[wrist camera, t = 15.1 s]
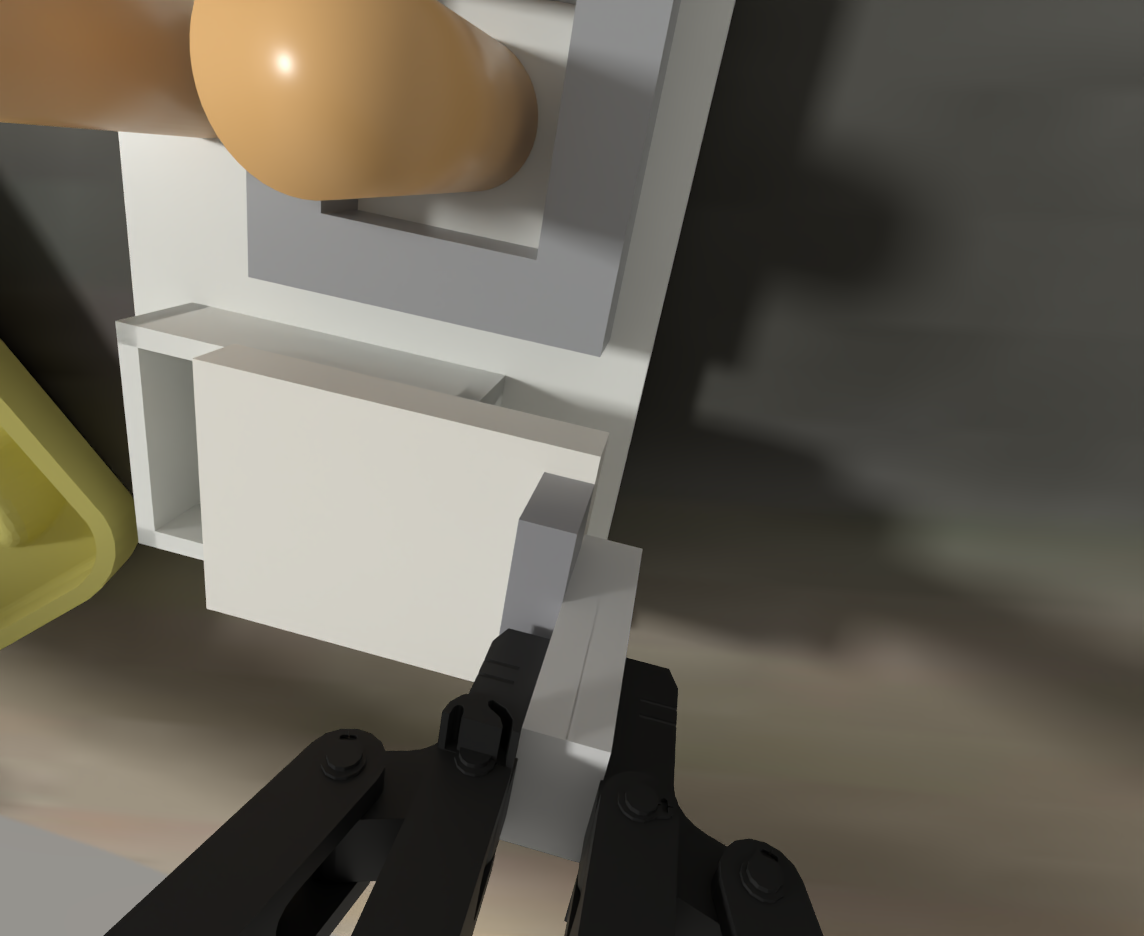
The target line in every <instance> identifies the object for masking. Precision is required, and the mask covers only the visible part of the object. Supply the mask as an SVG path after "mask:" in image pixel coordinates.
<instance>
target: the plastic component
mask: <svg viewBox="0 0 1144 936" xmlns="http://www.w3.org/2000/svg"><path fill="white" fill-rule="evenodd" d="M137 543H138V533H137V523H136V514H135V504H134V499H133V497H132V496H131V494H130V493H129V492H128V490H127V489H126V488H125V487H124V486H123V484H122V483H121V482H120V481H119V480H118V478H117V477H116V476H115V475H114V474H113V472H112V471H111V470H110V469H109V468H108V466H107V465H106V464H105V463H104V462H103V460H102V459H101V458H100V457H99V456H98V454H97V453H96V452H95V451H94V450H93V448H92V447H91V446H90V445H89V444H88V443H87V441H86V440H85V439H84V438H83V437H82V435H81V434H80V433H79V432H78V431H77V429H76V428H75V427H74V426H73V425H72V423H71V422H70V421H69V420H68V419H67V417H66V416H65V415H64V414H63V413H62V411H61V410H60V409H59V408H58V407H57V406H56V404H55V403H54V402H53V401H52V400H51V398H50V397H49V396H48V395H47V394H46V392H45V391H44V390H43V389H42V388H41V386H40V385H39V384H38V383H37V382H36V380H35V379H34V378H33V377H32V376H31V374H30V373H29V372H28V371H27V370H26V368H25V367H24V366H23V365H22V364H21V363H20V361H19V360H18V359H17V358H16V357H15V355H14V354H13V353H12V352H11V351H10V349H9V348H8V347H7V346H6V345H5V343H4V342H3V341H2V340H1V339H0V650H1V649H3V648H5V647H6V646H8V645H10V644H12V643H13V642H15V641H17V640H19V639H20V638H22V637H24V636H26V635H27V634H29V633H31V632H33V631H34V630H36V629H38V628H40V627H41V626H43V625H45V624H47V623H48V622H50V621H52V620H54V619H55V618H57V617H59V616H61V615H62V614H64V613H66V612H68V611H69V610H71V609H73V608H75V607H76V606H78V605H80V604H82V603H83V602H85V601H87V600H89V599H90V598H91V597H92V596H93V595H94V594H95V593H97V592H98V591H99V590H100V589H101V588H102V587H103V586H104V585H105V584H106V583H107V582H108V581H109V579H110V578H111V577H112V576H113V575H114V574H115V573H116V572H117V571H118V570H119V569H120V568H121V566H122V565H123V564H124V563H125V562H126V561H127V560H128V558H129V557H130V556H131V555H132V553H133V551H134V549H135V547H136V545H137Z"/></svg>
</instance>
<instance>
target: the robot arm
mask: <svg viewBox="0 0 1144 936" xmlns="http://www.w3.org/2000/svg"><path fill="white" fill-rule="evenodd" d="M642 550H643V549H641V548H637V547H633V546H629V545H625V544H622V543H618V542H614V541H610V540H606V539H602V538H598V537H594V536H590V535H586V534H585V536H584V539H583V542H582V545H581V548H580V551H579V554H578V557H577V560H576V563H575V566H574V569H573V572H572V575H571V578H570V582H569V585H568V588H567V591H566V594H565V597H564V600H563V603H562V606H561V609H560V612H559V615H558V618H557V621H556V624H555V627H554V630H553V633H552V636H551V639H548V638H544V637H540V636H536V635H533V634H529V633H525V632H521V631H517V630H514V629H510V628H508V629H507V630H506V631H504V632H503V633H502V634H501V635H499V636H498V637H497V638H495V639H494V640H493V641H492V643H491V646H490V648H489V650H488V652H487V654H486V657H485V660H484V661H483V663H482V666H481V668H480V670H479V673H478V675H477V677H476V679H475V681H474V683H473V686H472V688H471V690H470V692H469V694H465V695H461V696H460V697H458V698H456V699H454V700H452V701H450V703H449V704H448V705H447V706H446V708H445V709H444V710H443V711H442V717H441V724H440V732H439V739H438V743H436V744H435V745H433V746H430V747H427V748H424V749H421V750H412V751H385V749H384V747H383V745H382V742H381V741H380V740H378V739H377V738H376V737H375V736H374V735H372V734H371V733H368V732H365V731H362V730H359V729H339V730H336V731H332V732H329V733H326V734H324V735H323V736H321V737H320V738H318V739H317V740H315V741H314V742H312V743H311V744H310V745H309V746H308V747H307V748H306V749H304V750H303V751H302V752H301V753H300V754H299V755H298V756H297V757H296V758H295V759H294V760H293V761H292V762H290V763H289V764H288V765H287V766H286V767H285V768H284V769H283V770H282V771H281V772H280V773H279V774H277V775H276V776H275V777H274V778H273V779H272V780H271V781H270V782H269V783H268V784H267V785H266V786H265V787H263V788H262V789H261V790H260V791H259V792H258V793H257V794H256V795H255V796H254V797H253V798H252V799H250V800H249V801H248V802H247V803H246V804H245V805H244V806H243V807H242V808H241V809H240V810H239V811H238V812H236V813H235V814H234V815H233V816H232V817H231V818H230V819H229V820H228V821H227V822H226V823H225V824H223V825H222V826H221V827H220V828H219V829H218V830H217V831H216V832H215V833H214V834H213V835H212V836H211V837H209V838H208V839H207V840H206V841H205V842H204V843H203V844H202V845H201V846H200V847H199V848H198V849H197V850H195V851H194V852H193V853H192V854H191V855H190V856H189V857H188V858H187V859H186V860H185V861H184V862H182V863H181V864H180V865H179V866H178V867H177V868H176V869H175V870H174V871H173V872H172V873H171V874H170V875H168V876H167V877H166V878H165V879H164V880H163V881H162V882H161V883H160V884H159V885H158V886H157V887H155V888H154V889H153V890H152V891H151V892H150V893H149V894H148V895H147V896H146V897H145V898H144V899H143V900H141V902H139V903H138V904H137V905H136V906H135V907H134V908H133V909H132V910H131V911H130V912H128V913H127V914H126V915H125V916H124V917H123V918H122V919H121V920H120V921H119V922H118V923H117V924H116V925H114V926H113V927H112V928H111V929H110V930H109V931H108V932H107V933H106V934H105V935H104V936H330V934H331V933H332V932H333V930H334V929H335V928H336V927H337V925H338V924H339V923H340V921H341V920H342V919H343V917H344V916H345V915H346V913H347V912H348V911H349V910H350V908H351V907H352V906H353V904H354V903H355V902H356V900H357V899H358V898H359V896H360V895H361V894H362V893H363V891H364V890H365V889H366V887H367V886H368V885H369V883H370V881H376V883H375V885H374V887H373V889H372V891H371V894H370V896H369V898H368V900H367V902H366V905H365V907H364V909H363V911H362V913H361V916H360V918H359V920H358V922H357V924H356V926H355V929H354V931H353V933H352V935H351V936H472V935H473V931H474V928H475V925H476V921H477V918H478V914H479V911H480V908H481V904H482V901H483V898H484V894H485V891H486V888H487V884H488V881H489V878H490V874H491V871H492V866H493V862H494V857H495V852H496V848H497V845H498V842H499V839H500V840H503V841H507V842H510V843H513V844H517V845H520V846H524V847H527V848H531V849H534V850H537V851H541V852H544V853H548V854H551V855H554V856H558V857H561V858H565V859H568V860H572V861H575V862H578V863H580V865H579V870H578V875H577V878H576V882H575V885H574V889H573V892H572V896H571V899H570V903H569V906H568V910H567V913H566V917H565V920H564V921H566V922H567V925H566V930H565V936H823V934H822V931H821V928H820V926H819V923H818V920H817V918H816V915H815V912H814V910H813V907H812V904H811V902H810V899H809V896H808V894H807V891H806V888H805V886H804V883H803V881H802V879H801V877H800V875H799V873H798V872H797V870H796V868H795V866H794V865H793V864H792V863H791V862H790V861H789V860H788V859H787V858H786V857H785V856H784V855H783V854H782V853H781V852H780V851H779V850H777V849H775V848H773V847H772V846H770V845H768V844H767V843H765V842H761V841H757V840H753V839H744V840H737V841H734V842H733V843H732V844H730V845H729V846H728V847H727V846H725V845H723V844H722V843H720V842H718V841H717V840H715V839H713V838H712V837H710V836H708V835H707V834H705V833H704V832H703V831H701V830H700V829H698V828H697V827H696V826H694V825H693V824H692V822H691V821H690V820H689V819H688V818H687V817H686V816H685V815H684V813H683V812H682V810H681V808H680V807H679V805H678V802H677V800H676V797H675V793H674V766H675V743H676V720H677V711H676V710H677V697H678V688H677V685H676V683H675V681H674V679H673V677H672V675H671V672H670V670H669V669H667V668H663V667H659V666H656V665H652V664H648V663H644V662H640V661H637V660H633V659H629V658H626V653H627V647H628V641H629V634H630V628H631V621H632V615H633V608H634V602H635V595H636V589H637V582H638V576H639V570H640V563H641V557H642Z"/></svg>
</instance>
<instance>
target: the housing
mask: <svg viewBox="0 0 1144 936" xmlns="http://www.w3.org/2000/svg"><path fill="white" fill-rule="evenodd" d="M437 1H439V2H440V3H442V4H443V5H445V6H446V7H448V8H449V9H451V10H452V11H454V12H455V13H457V14H458V15H460V16H461V17H463V18H464V19H466V20H467V21H469V22H470V23H472V24H473V25H475V26H476V27H477V28H479V29H480V30H482V31H483V32H485V33H486V34H488V35H489V36H491V37H492V38H494V39H495V40H497V41H498V42H500V43H501V44H503V45H504V46H505V47H507V48H508V49H509V50H510V51H511V52H512V53H513V54H514V55H515V56H516V57H517V58H518V59H519V61H520V62H521V63H522V65H523V66H524V68H525V70H526V71H527V73H528V75H529V77H530V79H531V82H532V84H533V87H534V91H535V94H536V99H537V105H538V127H537V133H536V138H535V141H534V144H533V147H532V150H531V152H530V154H529V156H528V158H527V160H526V161H525V163H524V164H523V166H522V167H521V168H520V169H519V171H518V172H517V173H516V174H515V175H514V176H513V177H512V178H510V179H509V180H507V181H506V182H505V183H503V184H501V185H499V186H497V187H495V188H492V189H489V190H484V191H475V192H458V193H442V194H425V195H408V196H391V197H375V198H358V199H341V200H323V201H314V200H305V199H300V198H296V197H292V196H289V195H286V194H284V193H281V192H279V191H276V190H274V189H273V188H271V187H269V186H267V185H265V184H264V183H262V182H261V181H259V180H258V179H257V178H255V177H254V176H253V175H251V174H250V173H249V172H248V171H247V170H246V169H244V168H243V167H242V166H241V165H240V164H239V163H238V162H237V161H236V160H235V158H234V157H233V156H232V155H231V154H230V153H229V152H228V150H227V149H226V148H225V146H224V145H223V143H222V142H221V141H220V139H219V138H218V136H217V135H216V133H215V131H214V129H213V127H212V126H211V124H210V122H209V120H208V118H207V116H206V113H205V111H204V109H203V107H202V104H201V101H200V98H199V95H198V92H197V89H196V85H195V81H194V76H193V72H192V65H191V57H190V23H191V15H192V10H193V5H194V0H0V122H6V123H18V124H31V125H44V126H56V127H69V128H81V129H94V130H107V131H118V133H119V144H120V155H121V166H122V177H123V187H124V198H125V209H126V220H127V231H128V242H129V253H130V264H131V274H132V285H133V296H134V307H135V316H134V317H130V318H126V319H122V320H118V321H115V323H116V332H117V342H118V351H119V361H120V371H121V380H122V390H123V399H124V409H125V418H126V428H127V437H128V447H129V456H130V466H131V475H132V485H133V494H134V504H135V514H136V523H137V533H138V542H139V543H140V544H144V545H148V546H152V547H155V548H159V549H163V550H166V551H170V552H174V553H178V554H181V555H185V556H189V557H193V558H196V559H200V560H204V555H203V538H202V520H201V503H200V486H199V469H198V451H197V434H196V417H195V399H194V382H193V365H192V358H195V357H198V356H200V355H203V354H206V353H209V352H212V351H215V350H217V349H220V348H223V347H226V346H229V345H232V344H239V345H243V346H247V347H251V348H255V349H260V350H264V351H268V352H272V353H276V354H281V355H285V356H289V357H293V358H298V359H302V360H306V361H310V362H314V363H319V364H323V365H327V366H331V367H335V368H340V369H344V370H348V371H352V372H356V373H361V374H365V375H369V376H373V377H378V378H382V379H386V380H390V381H394V382H399V383H403V384H407V385H411V386H415V387H420V388H424V389H428V390H432V391H436V392H441V393H445V394H449V395H453V396H458V397H462V398H466V399H470V400H474V401H479V402H483V403H487V404H491V405H495V406H500V407H504V408H508V409H512V410H517V411H521V412H525V413H529V414H533V415H538V416H542V417H546V418H550V419H554V420H559V421H563V422H567V423H571V424H575V425H580V426H584V427H588V428H592V429H597V430H601V431H605V432H609V438H608V442H607V447H606V451H605V456H604V460H603V465H602V469H601V474H600V478H599V483H598V487H597V492H596V496H595V501H594V505H593V510H592V514H591V519H590V523H589V528H588V532H587V535H590V536H594V537H598V538H602V539H606V540H607V539H608V535H609V531H610V526H611V522H612V518H613V514H614V510H615V505H616V501H617V497H618V493H619V489H620V484H621V480H622V476H623V472H624V468H625V463H626V459H627V455H628V451H629V447H630V442H631V438H632V434H633V430H634V426H635V421H636V417H637V413H638V409H639V405H640V400H641V396H642V392H643V388H644V384H645V379H646V375H647V371H648V367H649V363H650V358H651V354H652V350H653V346H654V342H655V337H656V333H657V329H658V325H659V321H660V316H661V312H662V308H663V304H664V300H665V295H666V291H667V287H668V283H669V279H670V274H671V270H672V266H673V262H674V258H675V253H676V249H677V245H678V241H679V237H680V232H681V228H682V224H683V220H684V216H685V211H686V207H687V203H688V199H689V195H690V190H691V186H692V182H693V178H694V174H695V169H696V165H697V161H698V157H699V153H700V148H701V144H702V140H703V136H704V132H705V127H706V123H707V119H708V115H709V111H710V106H711V102H712V98H713V94H714V90H715V85H716V81H717V77H718V73H719V69H720V64H721V60H722V56H723V52H724V48H725V43H726V39H727V35H728V31H729V27H730V22H731V18H732V14H733V10H734V6H735V1H736V0H437Z"/></svg>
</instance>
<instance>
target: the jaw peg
mask: <svg viewBox="0 0 1144 936" xmlns="http://www.w3.org/2000/svg"><path fill="white" fill-rule="evenodd" d="M190 57H191V65H192V72H193V76H194V81H195V85H196V89H197V92H198V95H199V98H200V101H201V104H202V107H203V109H204V111H205V113H206V116H207V118H208V120H209V122H210V124H211V126H212V127H213V129H214V131H215V133H216V135H217V136H218V138H219V139H220V141H221V142H222V143H223V145H224V146H225V148H226V149H227V150H228V152H229V153H230V154H231V155H232V156H233V157H234V158H235V160H236V161H237V162H238V163H239V164H240V165H241V166H242V167H243V168H244V169H246V170H247V171H248V172H249V173H250V174H251V175H253V176H254V177H255V178H257V179H258V180H259V181H261V182H262V183H264V184H265V185H267V186H269V187H271V188H273V189H274V190H276V191H279V192H281V193H284V194H286V195H289V196H292V197H296V198H300V199H305V200H314V201H323V200H341V199H358V198H375V197H391V196H408V195H425V194H442V193H458V192H475V191H484V190H489V189H492V188H495V187H497V186H499V185H501V184H503V183H505V182H506V181H507V180H509V179H510V178H512V177H513V176H514V175H515V174H516V173H517V172H518V171H519V169H520V168H521V167H522V166H523V164H524V163H525V161H526V160H527V158H528V156H529V154H530V152H531V150H532V147H533V144H534V141H535V138H536V133H537V127H538V105H537V99H536V94H535V91H534V87H533V84H532V82H531V79H530V77H529V75H528V73H527V71H526V70H525V68H524V66H523V65H522V63H521V62H520V61H519V59H518V58H517V57H516V56H515V55H514V54H513V53H512V52H511V51H510V50H509V49H508V48H507V47H505V46H504V45H503V44H501V43H500V42H498V41H497V40H495V39H494V38H492V37H491V36H489V35H488V34H486V33H485V32H483V31H482V30H480V29H479V28H477V27H476V26H475V25H473V24H472V23H470V22H469V21H467V20H466V19H464V18H463V17H461V16H460V15H458V14H457V13H455V12H454V11H452V10H451V9H449V8H448V7H446V6H445V5H443V4H442V3H440V2H439V1H437V0H194V5H193V10H192V15H191V23H190Z"/></svg>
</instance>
